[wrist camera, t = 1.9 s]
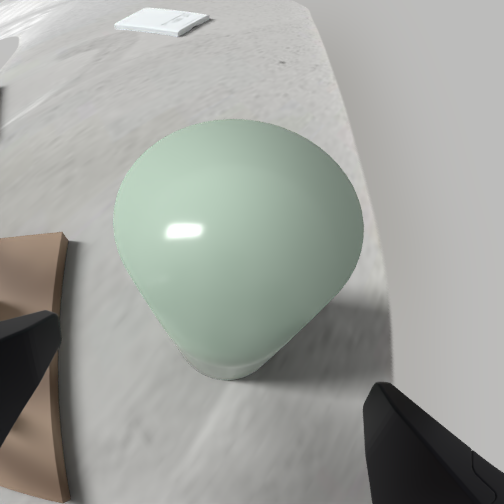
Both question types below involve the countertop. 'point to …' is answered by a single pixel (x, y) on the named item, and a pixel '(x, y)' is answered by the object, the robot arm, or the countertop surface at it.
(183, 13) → the external hard drive
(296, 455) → the countertop surface
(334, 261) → the canister
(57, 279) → the wooden peg board
